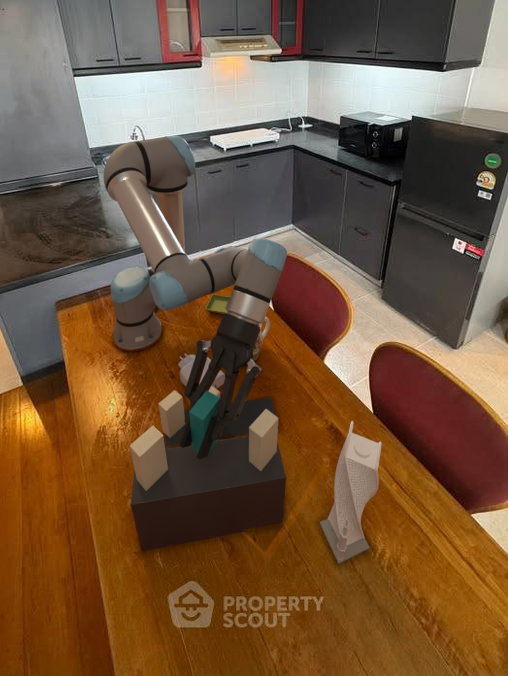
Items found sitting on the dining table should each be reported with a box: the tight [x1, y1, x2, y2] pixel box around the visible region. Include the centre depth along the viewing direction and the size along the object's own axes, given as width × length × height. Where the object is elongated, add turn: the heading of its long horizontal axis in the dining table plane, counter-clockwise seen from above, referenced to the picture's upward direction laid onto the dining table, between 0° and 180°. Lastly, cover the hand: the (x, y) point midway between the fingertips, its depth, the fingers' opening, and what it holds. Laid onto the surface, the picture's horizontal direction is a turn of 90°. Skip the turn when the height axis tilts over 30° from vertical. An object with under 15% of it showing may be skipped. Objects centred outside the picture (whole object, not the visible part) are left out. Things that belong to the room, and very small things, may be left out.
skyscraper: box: [319, 420, 383, 565], centre depth 70 cm, size 8×8×28 cm
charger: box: [177, 353, 225, 390], centre depth 109 cm, size 5×9×15 cm
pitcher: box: [253, 316, 271, 362], centre depth 114 cm, size 11×18×14 cm, turn 129°
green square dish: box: [204, 293, 230, 315], centre depth 136 cm, size 9×9×2 cm
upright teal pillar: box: [189, 390, 222, 453], centre depth 67 cm, size 3×5×10 cm, turn 149°
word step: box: [129, 409, 287, 552], centre depth 74 cm, size 9×28×26 cm, turn 99°
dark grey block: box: [158, 386, 280, 447], centre depth 95 cm, size 9×29×11 cm, turn 99°
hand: (193, 450), depth 65 cm, fingers closed on upright teal pillar, 3 cm apart
